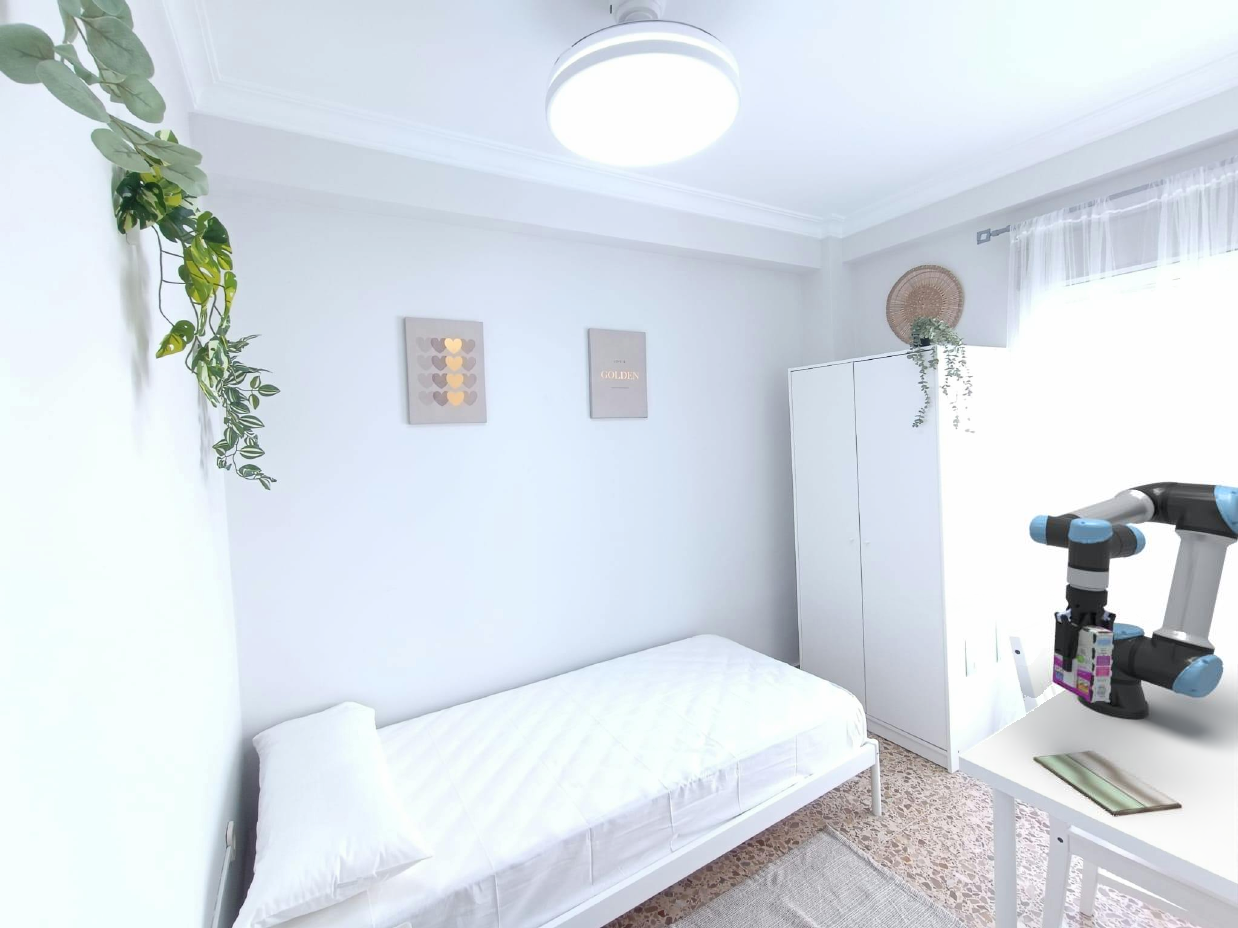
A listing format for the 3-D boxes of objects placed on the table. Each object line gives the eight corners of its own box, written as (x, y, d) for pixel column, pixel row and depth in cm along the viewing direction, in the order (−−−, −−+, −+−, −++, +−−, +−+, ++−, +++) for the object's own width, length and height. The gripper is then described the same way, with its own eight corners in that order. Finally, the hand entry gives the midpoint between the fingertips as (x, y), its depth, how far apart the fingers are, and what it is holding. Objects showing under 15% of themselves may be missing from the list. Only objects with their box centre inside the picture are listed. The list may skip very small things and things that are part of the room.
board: (1092, 752, 141) (1092, 749, 141) (1181, 807, 122) (1181, 803, 122) (1033, 759, 140) (1033, 756, 139) (1113, 815, 120) (1114, 812, 120)
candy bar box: (1112, 703, 130) (1116, 631, 129) (1091, 703, 130) (1095, 632, 129) (1070, 680, 141) (1073, 615, 140) (1051, 681, 141) (1054, 615, 140)
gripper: (1107, 580, 138) (1101, 675, 140) (1037, 582, 137) (1032, 678, 138) (1138, 589, 131) (1131, 689, 133) (1064, 592, 129) (1058, 693, 131)
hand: (1080, 683), depth 135 cm, fingers closed on candy bar box, 5 cm apart
